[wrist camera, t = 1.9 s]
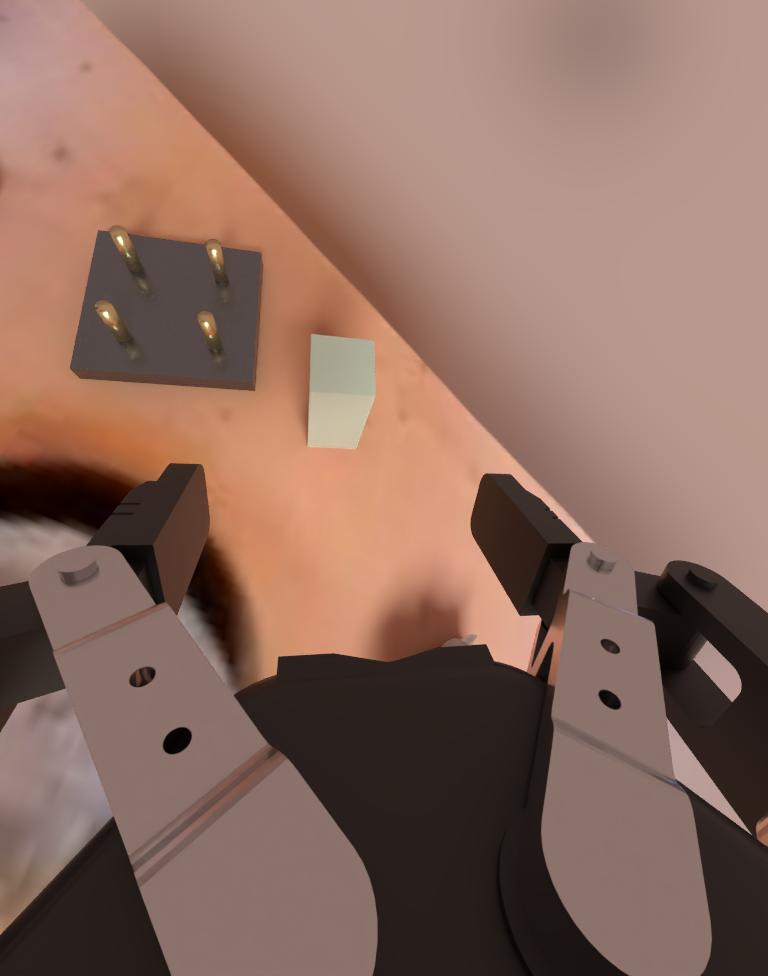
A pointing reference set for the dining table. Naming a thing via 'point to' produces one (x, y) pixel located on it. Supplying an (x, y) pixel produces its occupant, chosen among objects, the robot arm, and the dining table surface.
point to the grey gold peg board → (169, 313)
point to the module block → (339, 390)
